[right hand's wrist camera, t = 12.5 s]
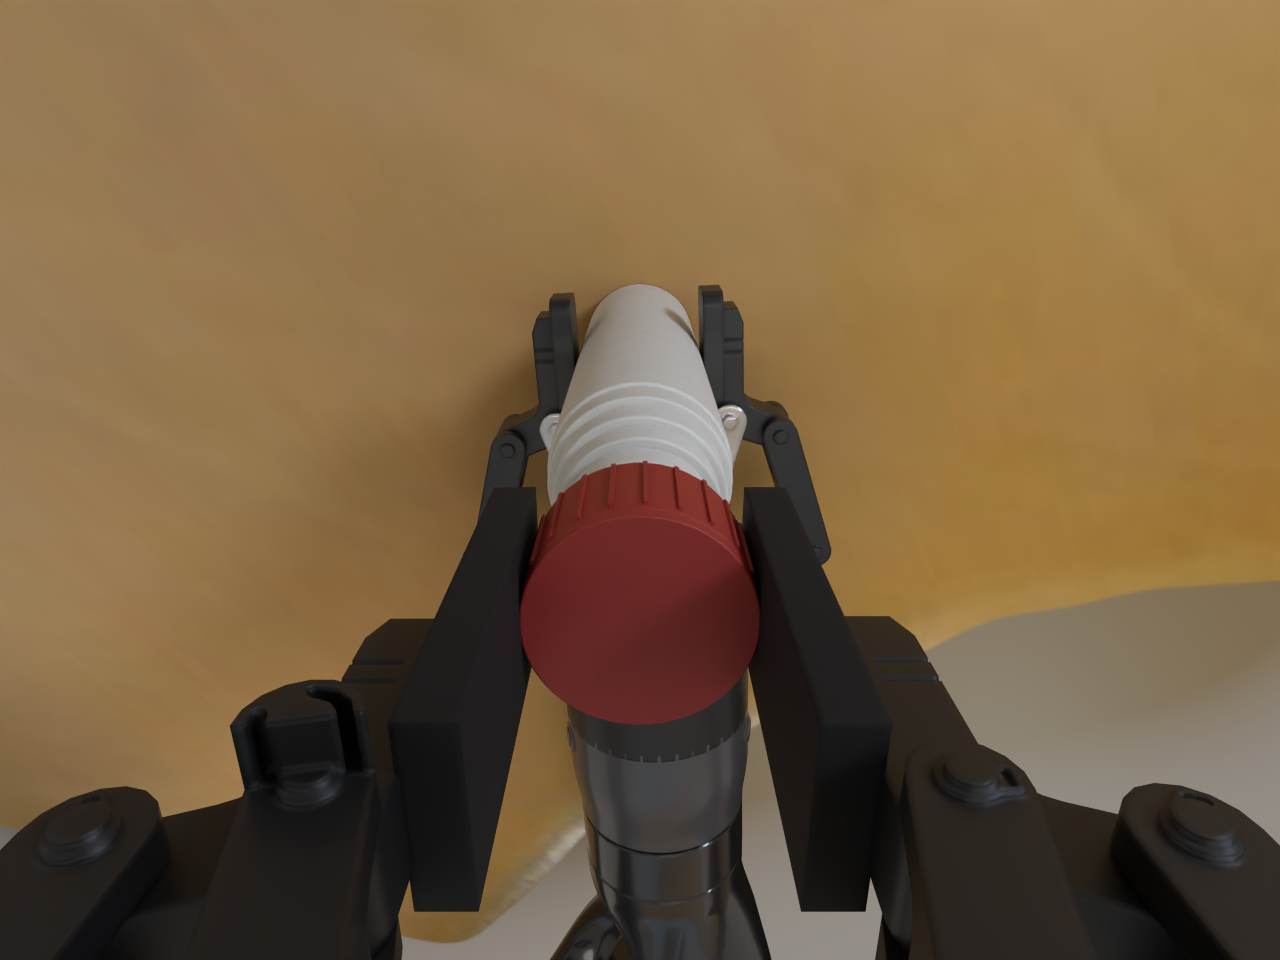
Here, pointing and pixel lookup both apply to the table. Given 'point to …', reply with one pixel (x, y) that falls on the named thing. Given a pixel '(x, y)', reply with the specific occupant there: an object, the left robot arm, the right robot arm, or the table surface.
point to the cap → (640, 596)
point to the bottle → (639, 396)
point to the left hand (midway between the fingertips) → (636, 294)
